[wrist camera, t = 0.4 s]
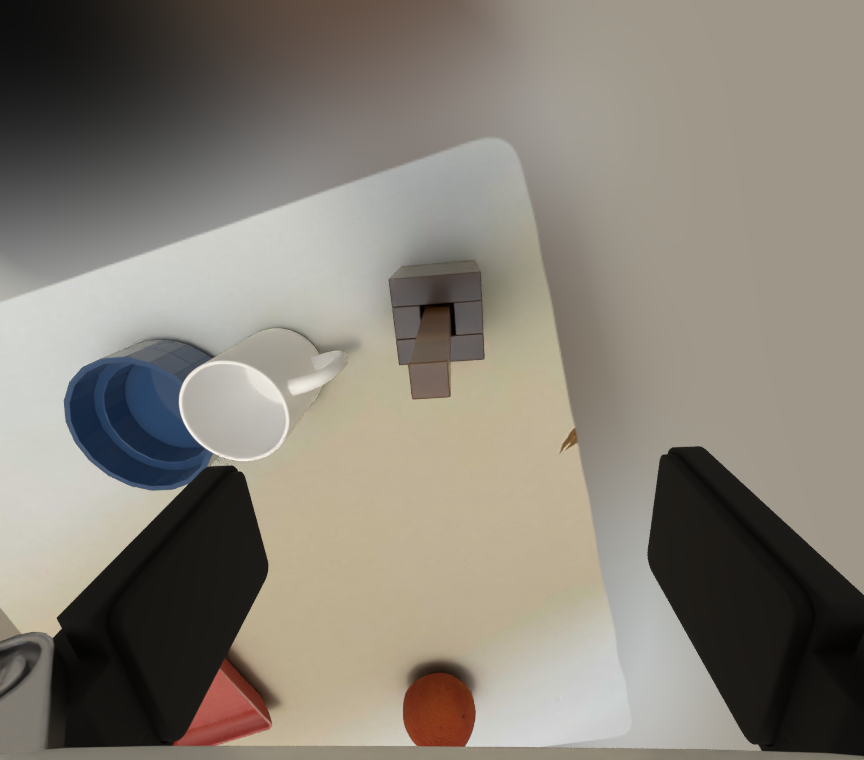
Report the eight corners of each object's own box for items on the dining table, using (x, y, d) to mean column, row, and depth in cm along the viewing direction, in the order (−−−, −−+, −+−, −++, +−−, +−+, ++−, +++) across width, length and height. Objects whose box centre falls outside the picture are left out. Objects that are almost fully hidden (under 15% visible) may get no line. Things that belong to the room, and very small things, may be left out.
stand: (401, 266, 37) (388, 279, 30) (474, 260, 37) (480, 271, 29) (409, 337, 39) (398, 365, 32) (478, 332, 39) (484, 359, 31)
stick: (429, 290, 38) (407, 363, 19) (450, 289, 38) (447, 360, 19) (431, 310, 38) (411, 400, 20) (451, 309, 38) (450, 397, 20)
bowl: (95, 342, 41) (39, 363, 35) (225, 333, 40) (188, 352, 34) (140, 459, 46) (96, 493, 40) (257, 453, 45) (229, 487, 39)
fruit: (486, 691, 56) (491, 763, 49) (429, 710, 58) (425, 783, 51) (453, 648, 54) (453, 718, 46) (394, 670, 56) (385, 741, 48)
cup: (226, 341, 40) (156, 380, 31) (341, 301, 38) (304, 329, 29) (265, 416, 43) (213, 473, 34) (375, 382, 41) (352, 432, 32)
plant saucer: (204, 615, 54) (188, 640, 51) (283, 703, 59) (274, 729, 56) (98, 654, 57) (78, 679, 54) (182, 733, 63) (168, 760, 60)
